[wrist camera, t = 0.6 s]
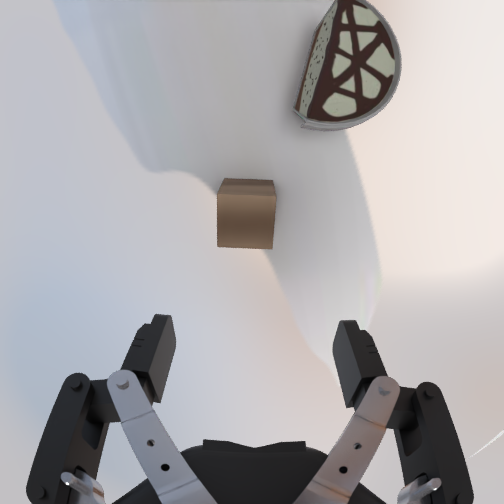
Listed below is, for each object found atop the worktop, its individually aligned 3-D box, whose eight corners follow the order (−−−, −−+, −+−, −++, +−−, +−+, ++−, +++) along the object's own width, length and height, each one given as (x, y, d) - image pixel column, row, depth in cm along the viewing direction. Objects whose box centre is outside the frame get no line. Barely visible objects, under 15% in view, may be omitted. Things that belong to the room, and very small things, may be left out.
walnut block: (224, 178, 29) (216, 194, 24) (272, 180, 29) (276, 196, 24) (224, 222, 31) (217, 247, 26) (269, 224, 31) (272, 249, 26)
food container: (344, 141, 27) (384, 157, 18) (288, 123, 26) (305, 128, 17) (372, 41, 21) (419, 19, 12) (317, 20, 20) (344, -17, 12)
